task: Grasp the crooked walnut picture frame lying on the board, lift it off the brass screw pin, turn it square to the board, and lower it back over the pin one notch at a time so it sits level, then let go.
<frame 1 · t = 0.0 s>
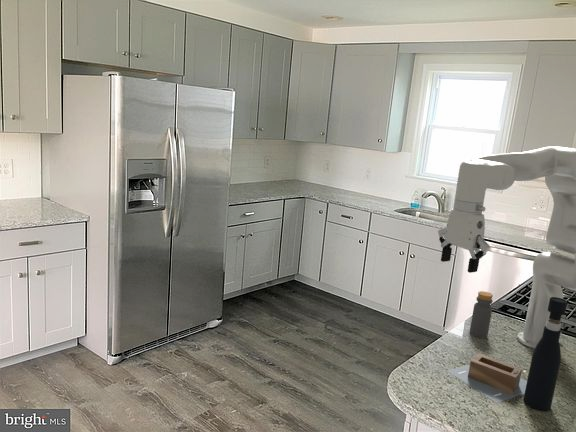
hand: (458, 266, 139), 31 cm above the countertop, tool pointing down, fingers open, 9 cm apart
bottle: (478, 335, 171), on the countertop
frame: (493, 381, 138), point 1 cm above the countertop, touching board
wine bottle: (535, 408, 129), on the countertop
board: (491, 383, 139), on the countertop
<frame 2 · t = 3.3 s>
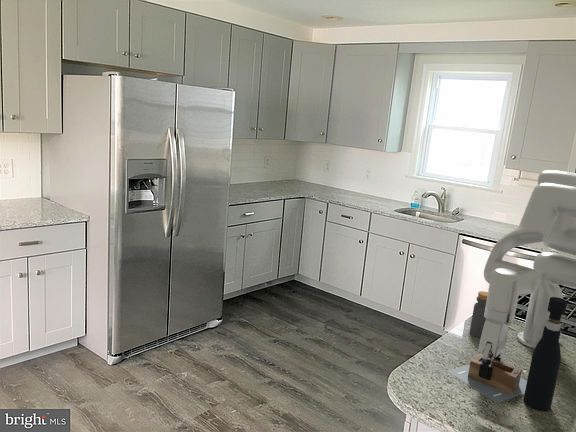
hand: (488, 372, 139), 3 cm above the countertop, tool pointing down, fingers closed on frame, 6 cm apart
frame: (493, 381, 138), point 1 cm above the countertop, touching board, gripper
everything else where it was.
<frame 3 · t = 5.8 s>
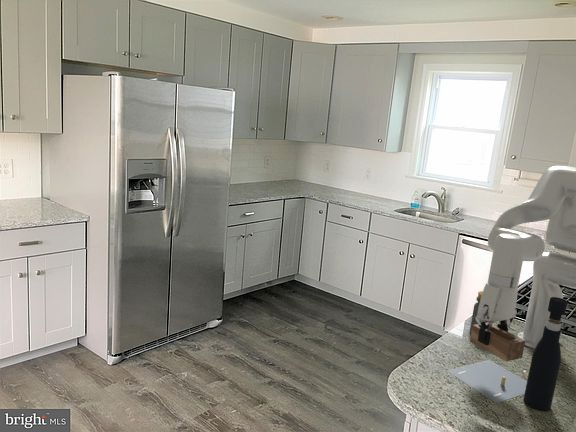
hand: (491, 340, 137), 13 cm above the countertop, tool pointing down, fingers closed on frame, 6 cm apart
frame: (495, 349, 136), point 11 cm above the countertop, touching gripper
everything else where it was.
when the fingers open (4 cm above the countertop, at t = 8.2 s): frame stays where it is, resting on board.
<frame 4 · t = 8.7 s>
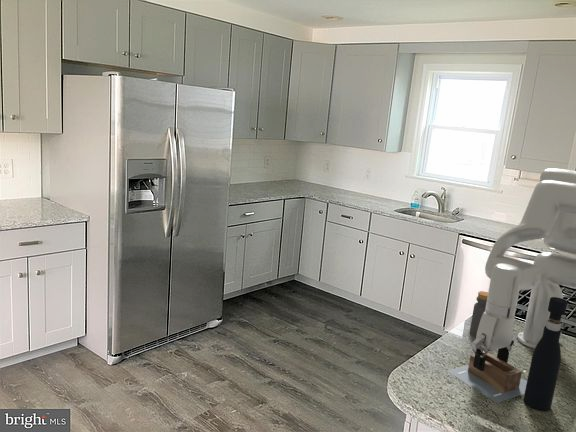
hand: (490, 365, 139), 5 cm above the countertop, tool pointing down, fingers open, 9 cm apart
frame: (492, 379, 139), point 1 cm above the countertop, touching board
everything else where it was.
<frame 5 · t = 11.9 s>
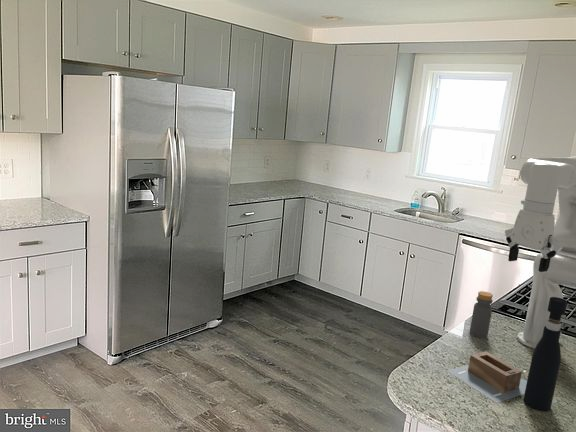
hand: (527, 265, 142), 32 cm above the countertop, tool pointing down, fingers open, 9 cm apart
nothing on the countertop moved.
at the end: frame 0.2 cm off-centre on the board, point 1.2 cm above the board's base; frame tilted 0°; the gripper is holding nothing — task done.
